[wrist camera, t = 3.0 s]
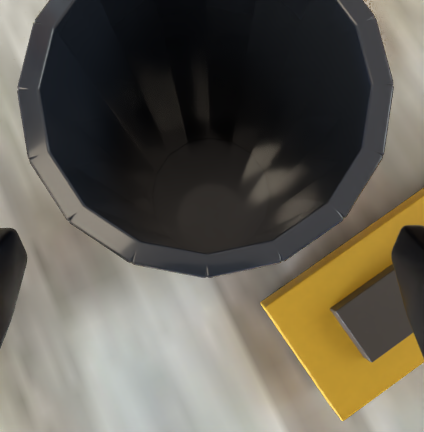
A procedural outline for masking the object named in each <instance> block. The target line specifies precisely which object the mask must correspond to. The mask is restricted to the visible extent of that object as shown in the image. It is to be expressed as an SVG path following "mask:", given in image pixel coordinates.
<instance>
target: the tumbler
mask: <svg viewBox="0 0 424 432" xmlns="http://www.w3.org/2000/svg"><path fill="white" fill-rule="evenodd" d="M374 17H375V16H374V14H373V13H372V12H371V10H370V9H369V8H368V6H367V5H366V4H365V3H364V1H363V0H49V2H48V3H47V4H46V6H45V7H44V8H43V10H42V11H41V12H40V14H39V15H38V16H37V18H36V19H35V22H34V23H33V27H32V31H31V35H30V39H29V43H28V47H27V51H26V55H25V59H24V63H23V67H22V71H21V75H20V79H19V83H18V91H17V93H18V100H19V106H20V112H21V118H22V124H23V130H24V137H25V143H26V149H27V155H28V159H29V161H30V164H31V165H32V167H33V168H34V170H35V171H36V173H37V175H38V176H39V178H40V179H41V181H42V182H43V184H44V185H45V187H46V188H47V190H48V192H49V193H50V195H51V196H52V198H53V199H54V201H55V202H56V204H57V205H58V207H59V209H60V210H61V212H62V213H63V215H64V216H65V218H66V219H67V220H68V221H69V222H70V224H72V225H73V226H75V227H76V228H78V229H79V230H81V231H82V232H84V233H85V234H87V235H88V236H90V237H91V238H93V239H94V240H96V241H97V242H99V243H100V244H102V245H103V246H105V247H106V248H108V249H109V250H111V251H112V252H114V253H115V254H117V255H118V256H120V257H121V258H123V259H124V260H126V261H127V262H129V263H132V264H134V265H138V266H143V267H149V268H154V269H159V270H164V271H170V272H175V273H180V274H185V275H191V276H196V277H201V278H206V277H208V278H212V277H217V276H222V275H227V274H231V273H236V272H241V271H245V270H250V269H255V268H260V267H264V266H269V265H274V264H278V263H281V262H282V261H286V260H287V259H288V258H290V257H291V256H293V255H294V254H296V253H297V252H298V251H300V250H301V249H303V248H304V247H306V246H307V245H309V244H310V243H311V242H313V241H314V240H316V239H317V238H319V237H320V236H321V235H323V234H324V233H326V232H327V231H329V230H330V229H331V228H333V227H334V226H336V225H337V224H339V223H340V222H342V221H343V219H344V218H345V217H347V215H348V213H349V212H350V210H351V208H352V207H353V205H354V204H355V202H356V200H357V199H358V197H359V196H360V194H361V192H362V191H363V189H364V188H365V186H366V184H367V183H368V181H369V179H370V178H371V176H372V175H373V173H374V171H375V170H376V168H377V167H378V165H379V163H380V162H381V160H382V158H383V155H384V151H385V144H386V137H387V130H388V123H389V116H390V109H391V102H392V95H393V89H394V87H393V79H392V75H391V72H390V68H389V64H388V61H387V57H386V53H385V50H384V46H383V42H382V38H381V35H380V31H379V27H378V24H377V20H376V18H374Z"/></svg>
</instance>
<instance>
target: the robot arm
mask: <svg viewBox="0 0 424 432" xmlns="http://www.w3.org/2000/svg"><path fill="white" fill-rule="evenodd" d="M391 259H392V263H393V267H394V271H395V274H396V278H397V282H398V285H399V289H400V293H401V296H402V300H403V304H404V308H405V311H406V314H407V317H408V320H409V323H410V325H411V328H412V331H413V333H414V336H415V338H416V341H417V343H418V346H419V348H420V351H421V353H422V356H423V358H424V226H422V225H405V226H403V227H402V228H401V230H400V232H399V234H398V237H397V239H396V242H395V244H394V246H393V249H392V253H391ZM26 264H27V253H26V251H25V249H24V246H23V244H22V242H21V240H20V238H19V235H18V233H17V231H16V230H15V229H13V228H0V348H1V345H2V343H3V340H4V338H5V335H6V332H7V330H8V327H9V324H10V322H11V319H12V316H13V312H14V309H15V305H16V301H17V297H18V294H19V290H20V286H21V283H22V279H23V275H24V271H25V268H26Z"/></svg>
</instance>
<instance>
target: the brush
mask: <svg viewBox="0 0 424 432" xmlns="http://www.w3.org/2000/svg"><path fill="white" fill-rule="evenodd" d="M405 225H422V226H424V188H423V189H421V190H420V191H418V192H417V193H415V194H414V195H413V196H411V197H410V198H408V199H407V200H406V201H404V202H403V203H401V204H400V205H398V206H397V207H396V208H394V209H393V210H391V211H390V212H388V213H387V214H386V215H384V216H383V217H381V218H380V219H378V220H377V221H376V222H374V223H373V224H371V225H370V226H368V227H367V228H366V229H364V230H363V231H361V232H360V233H358V234H357V235H356V236H354V237H353V238H351V239H350V240H348V241H347V242H346V243H344V244H343V245H341V246H340V247H338V248H337V249H336V250H334V251H333V252H331V253H330V254H329V255H327V256H326V257H324V258H323V259H321V260H320V261H319V262H317V263H316V264H314V265H313V266H311V267H310V268H309V269H307V270H306V271H304V272H303V273H301V274H300V275H299V276H297V277H296V278H294V279H293V280H291V281H290V282H289V283H287V284H286V285H284V286H283V287H281V288H280V289H279V290H277V291H276V292H274V293H273V294H271V295H270V296H269V297H267V298H266V299H264V300H263V301H262V302H261V303H260V304H261V305H262V307H263V308H264V310H265V311H266V313H267V314H268V316H269V317H270V319H271V320H272V321H273V323H274V324H275V326H276V327H277V329H278V330H279V332H280V333H281V335H282V336H283V338H284V339H285V341H286V342H287V343H288V345H289V346H290V348H291V349H292V351H293V352H294V354H295V355H296V357H297V358H298V360H299V361H300V362H301V364H302V365H303V367H304V368H305V370H306V371H307V373H308V374H309V376H310V377H311V379H312V380H313V381H314V383H315V384H316V386H317V387H318V389H319V390H320V392H321V393H322V395H323V396H324V398H325V399H326V400H327V402H328V403H329V405H330V406H331V408H332V409H333V410H334V411H335V413H336V414H337V415H338V417H339V418H340V419H341V420H342V421H344V420H346V419H347V418H348V417H350V416H351V415H352V414H354V413H355V412H356V411H358V410H359V409H361V408H362V407H363V406H365V405H366V404H367V403H369V402H370V401H371V400H373V399H374V398H376V397H377V396H378V395H380V394H381V393H382V392H384V391H385V390H386V389H388V388H389V387H391V386H392V385H393V384H395V383H396V382H397V381H399V380H400V379H401V378H403V377H404V376H406V375H407V374H408V373H410V372H411V371H412V370H414V369H415V368H416V367H418V366H419V365H421V364H422V363H423V362H424V358H423V356H422V353H421V351H420V348H419V346H418V343H417V341H416V338H415V336H414V333H413V331H412V328H411V325H410V323H409V320H408V317H407V314H406V311H405V308H404V304H403V300H402V296H401V293H400V289H399V285H398V282H397V278H396V274H395V271H394V267H393V263H392V259H391V253H392V249H393V246H394V244H395V242H396V239H397V237H398V234H399V232H400V230H401V228H402V227H403V226H405Z"/></svg>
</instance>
